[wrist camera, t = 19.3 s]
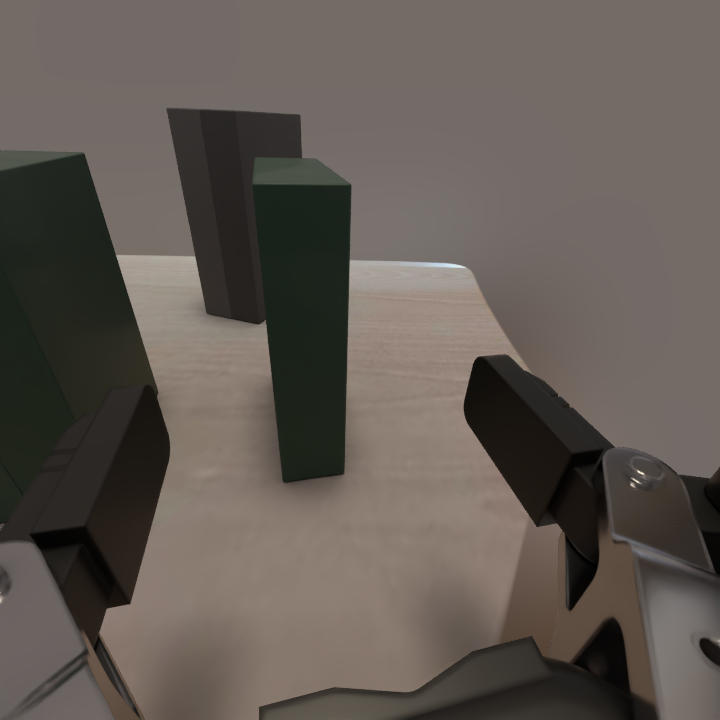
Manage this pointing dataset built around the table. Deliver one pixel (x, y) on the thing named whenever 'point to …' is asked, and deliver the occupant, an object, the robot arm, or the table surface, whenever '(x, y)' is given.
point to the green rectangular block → (56, 311)
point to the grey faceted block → (228, 198)
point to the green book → (305, 307)
